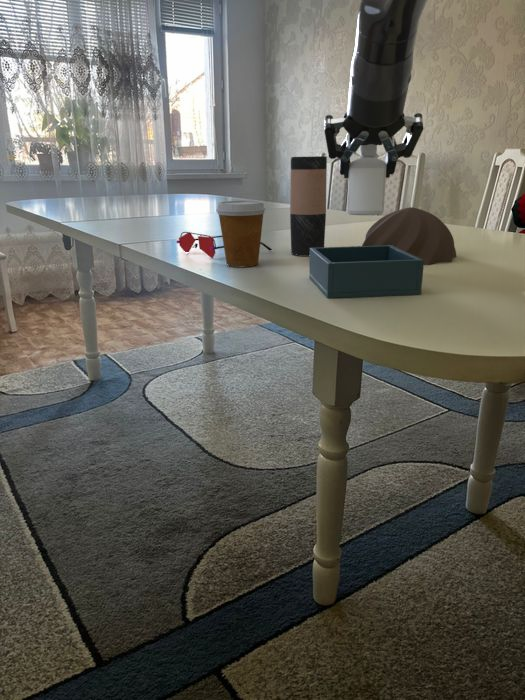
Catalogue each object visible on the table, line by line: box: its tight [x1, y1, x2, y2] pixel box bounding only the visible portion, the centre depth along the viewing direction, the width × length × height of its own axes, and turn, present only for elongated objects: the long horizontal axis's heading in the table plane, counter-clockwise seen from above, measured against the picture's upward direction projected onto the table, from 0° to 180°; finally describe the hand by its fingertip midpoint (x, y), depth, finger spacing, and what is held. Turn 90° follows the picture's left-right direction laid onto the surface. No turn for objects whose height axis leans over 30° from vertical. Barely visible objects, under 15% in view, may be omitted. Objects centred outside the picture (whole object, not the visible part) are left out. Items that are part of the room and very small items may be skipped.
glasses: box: [175, 231, 273, 259], centre depth 121 cm, size 14×16×5 cm
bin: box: [308, 245, 425, 299], centre depth 88 cm, size 15×15×5 cm
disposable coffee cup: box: [215, 200, 267, 267], centre depth 106 cm, size 10×10×12 cm
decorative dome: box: [361, 206, 457, 266], centre depth 112 cm, size 19×20×10 cm
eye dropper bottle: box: [346, 144, 387, 216], centre depth 83 cm, size 4×6×12 cm
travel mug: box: [289, 155, 328, 256], centre depth 115 cm, size 8×8×20 cm
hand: (366, 173), depth 84 cm, fingers closed on eye dropper bottle, 5 cm apart
